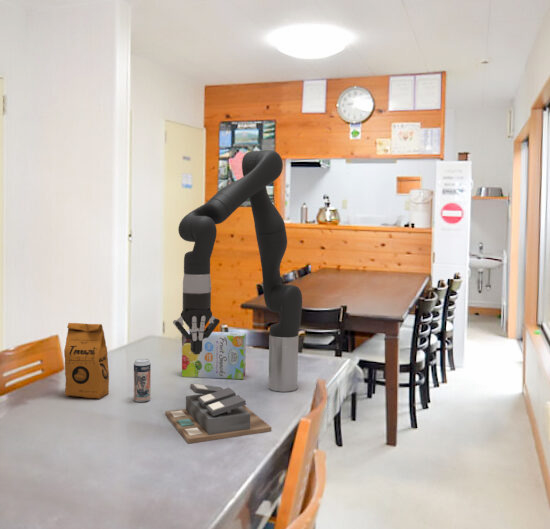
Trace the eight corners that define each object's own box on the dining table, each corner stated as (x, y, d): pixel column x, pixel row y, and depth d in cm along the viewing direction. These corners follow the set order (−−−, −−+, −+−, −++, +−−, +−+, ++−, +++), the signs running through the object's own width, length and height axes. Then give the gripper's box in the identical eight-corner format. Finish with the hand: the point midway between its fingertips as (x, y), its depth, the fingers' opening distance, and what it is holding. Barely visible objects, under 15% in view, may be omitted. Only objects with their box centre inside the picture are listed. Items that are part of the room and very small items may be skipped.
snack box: (245, 375, 207) (246, 332, 206) (243, 380, 201) (243, 335, 200) (185, 372, 209) (185, 329, 208) (181, 377, 204) (181, 333, 202)
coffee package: (98, 401, 176) (98, 327, 174) (60, 398, 179) (58, 325, 177) (114, 391, 186) (113, 321, 184) (77, 388, 188) (76, 319, 186)
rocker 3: (207, 413, 154) (205, 405, 154) (239, 401, 158) (237, 394, 158) (213, 419, 150) (211, 411, 149) (246, 407, 153) (245, 399, 153)
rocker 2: (198, 404, 161) (197, 397, 160) (230, 394, 164) (228, 386, 164) (204, 410, 156) (203, 402, 156) (236, 399, 160) (235, 391, 159)
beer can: (134, 403, 175) (134, 362, 174) (133, 398, 180) (133, 358, 179) (151, 402, 177) (151, 362, 175) (150, 397, 181) (149, 358, 180)
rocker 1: (189, 390, 167) (190, 383, 167) (219, 394, 170) (220, 386, 170) (194, 396, 162) (196, 388, 162) (225, 399, 166) (227, 391, 166)
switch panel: (165, 415, 166) (165, 397, 165) (239, 405, 175) (240, 388, 175) (188, 443, 146) (188, 423, 146) (271, 431, 155) (271, 412, 155)
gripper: (215, 287, 169) (214, 349, 170) (169, 289, 163) (168, 352, 165) (224, 291, 162) (224, 354, 163) (176, 293, 156) (176, 359, 158)
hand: (196, 353), depth 164 cm, fingers closed
